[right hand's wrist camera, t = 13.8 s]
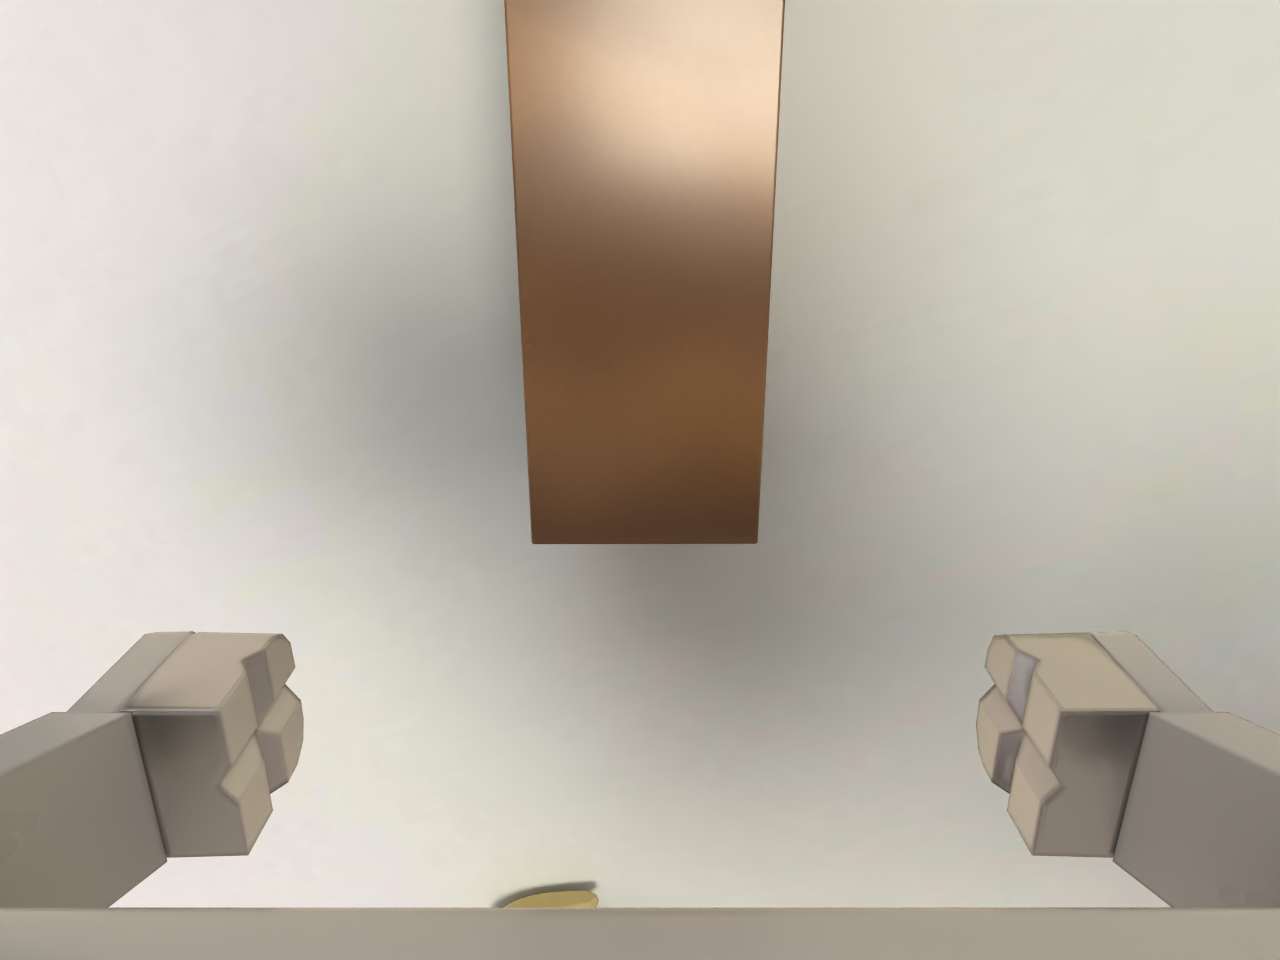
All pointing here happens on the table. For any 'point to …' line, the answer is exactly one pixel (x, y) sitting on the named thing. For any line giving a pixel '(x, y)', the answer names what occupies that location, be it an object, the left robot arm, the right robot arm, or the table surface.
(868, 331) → the table surface
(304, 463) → the table surface
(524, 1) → the box
